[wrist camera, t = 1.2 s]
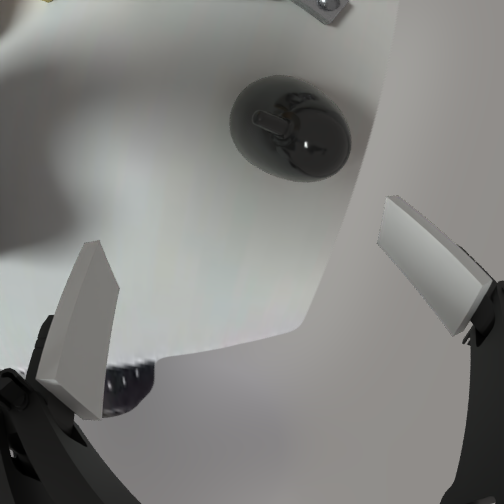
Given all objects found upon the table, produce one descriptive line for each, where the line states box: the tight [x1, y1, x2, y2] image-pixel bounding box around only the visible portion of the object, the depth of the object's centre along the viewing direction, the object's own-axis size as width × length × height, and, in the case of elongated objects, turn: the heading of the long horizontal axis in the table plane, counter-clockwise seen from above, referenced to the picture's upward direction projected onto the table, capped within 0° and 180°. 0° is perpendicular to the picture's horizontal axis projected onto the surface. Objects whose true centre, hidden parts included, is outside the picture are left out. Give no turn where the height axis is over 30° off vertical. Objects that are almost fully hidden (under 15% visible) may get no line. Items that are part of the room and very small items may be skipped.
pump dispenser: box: [230, 75, 351, 182], centre depth 23 cm, size 10×10×15 cm
